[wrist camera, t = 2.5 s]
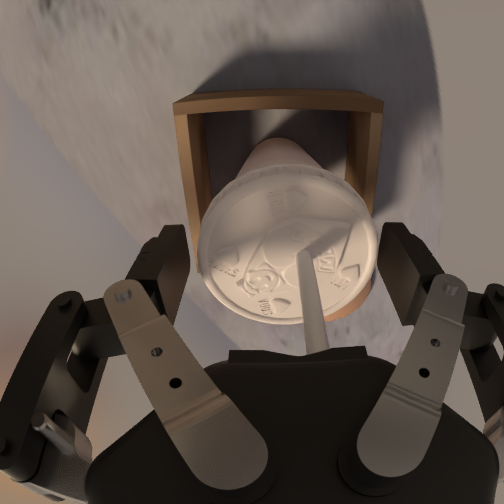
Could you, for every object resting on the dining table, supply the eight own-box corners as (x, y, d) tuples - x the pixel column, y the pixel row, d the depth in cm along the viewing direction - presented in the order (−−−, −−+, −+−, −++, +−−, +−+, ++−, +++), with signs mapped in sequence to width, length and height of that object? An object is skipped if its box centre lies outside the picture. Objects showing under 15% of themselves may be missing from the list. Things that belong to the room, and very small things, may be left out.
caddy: (191, 93, 16) (172, 103, 13) (359, 91, 16) (383, 101, 12) (207, 236, 21) (197, 272, 18) (347, 233, 21) (362, 269, 18)
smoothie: (349, 177, 19) (449, 368, 7) (268, 230, 21) (270, 438, 10) (288, 93, 16) (358, 194, 4) (203, 159, 18) (112, 349, 7)
